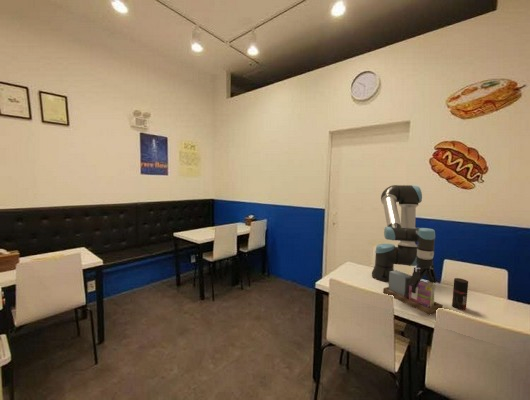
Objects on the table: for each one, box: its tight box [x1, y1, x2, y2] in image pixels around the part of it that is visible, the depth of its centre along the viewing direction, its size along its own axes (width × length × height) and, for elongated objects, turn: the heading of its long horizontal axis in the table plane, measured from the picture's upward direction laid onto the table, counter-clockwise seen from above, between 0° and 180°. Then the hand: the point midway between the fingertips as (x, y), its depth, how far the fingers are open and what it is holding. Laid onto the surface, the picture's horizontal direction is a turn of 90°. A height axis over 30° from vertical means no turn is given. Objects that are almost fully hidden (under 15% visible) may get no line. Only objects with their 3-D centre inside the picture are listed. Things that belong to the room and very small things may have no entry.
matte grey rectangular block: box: [388, 269, 412, 296], centre depth 144 cm, size 11×6×12 cm, turn 26°
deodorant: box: [451, 277, 469, 311], centre depth 132 cm, size 6×6×15 cm
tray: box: [382, 286, 444, 316], centre depth 139 cm, size 27×11×3 cm, turn 26°
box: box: [409, 280, 436, 308], centre depth 133 cm, size 10×6×12 cm, turn 40°
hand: (422, 296), depth 133 cm, fingers open, 13 cm apart
